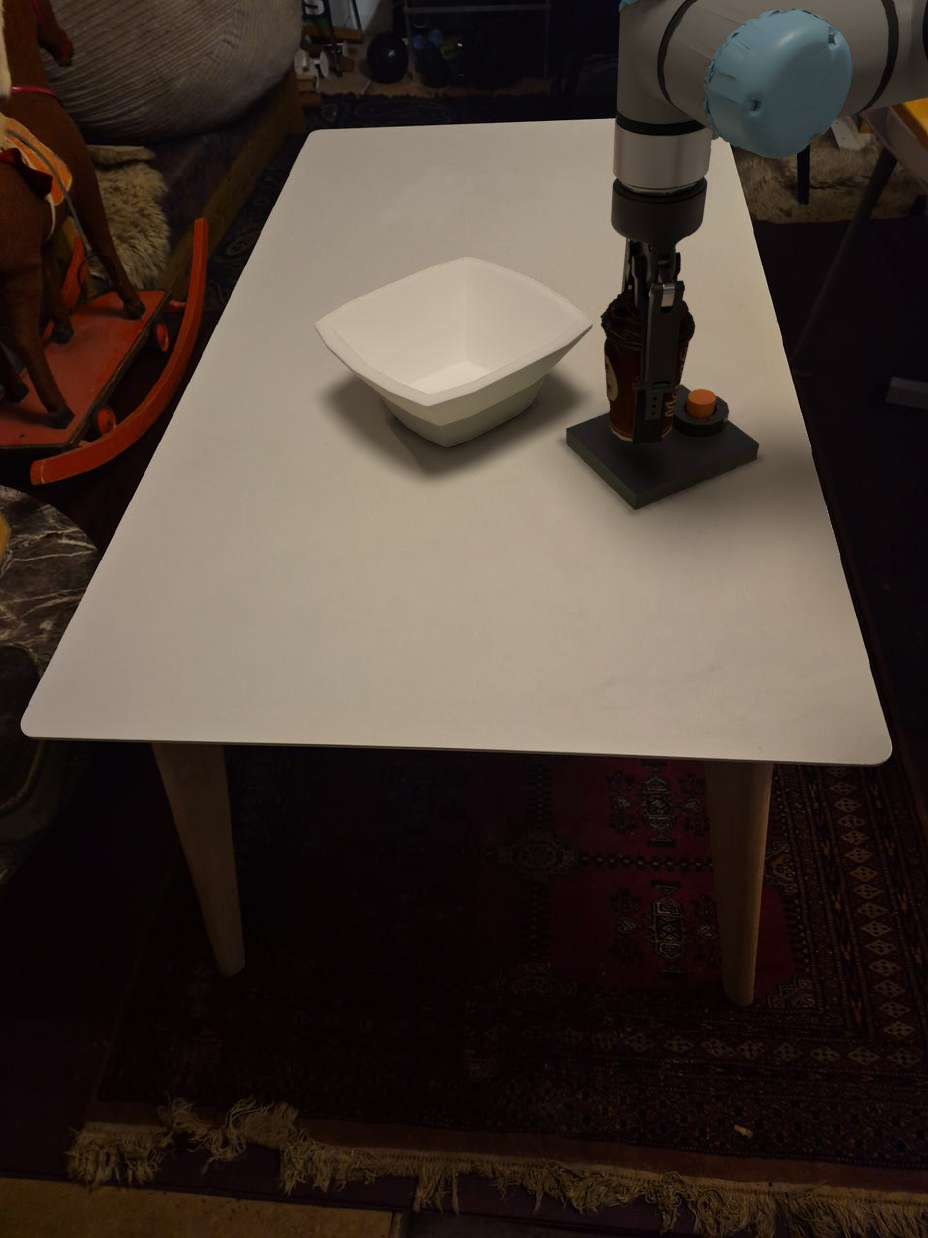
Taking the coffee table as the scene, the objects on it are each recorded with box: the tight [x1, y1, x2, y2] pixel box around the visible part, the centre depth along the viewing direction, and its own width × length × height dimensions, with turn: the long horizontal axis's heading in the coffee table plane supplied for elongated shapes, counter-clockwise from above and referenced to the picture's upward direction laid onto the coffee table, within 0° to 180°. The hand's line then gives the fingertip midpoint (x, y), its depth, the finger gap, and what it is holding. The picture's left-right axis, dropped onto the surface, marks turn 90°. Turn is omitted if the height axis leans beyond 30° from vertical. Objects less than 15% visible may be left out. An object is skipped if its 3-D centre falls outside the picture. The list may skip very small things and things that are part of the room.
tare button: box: [686, 388, 717, 418], centre depth 89 cm, size 3×3×2 cm
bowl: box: [313, 255, 594, 448], centre depth 96 cm, size 24×25×10 cm
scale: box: [565, 383, 761, 510], centre depth 89 cm, size 15×13×4 cm
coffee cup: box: [599, 289, 696, 444], centre depth 82 cm, size 9×8×13 cm
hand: (639, 415), depth 86 cm, fingers closed on coffee cup, 8 cm apart
